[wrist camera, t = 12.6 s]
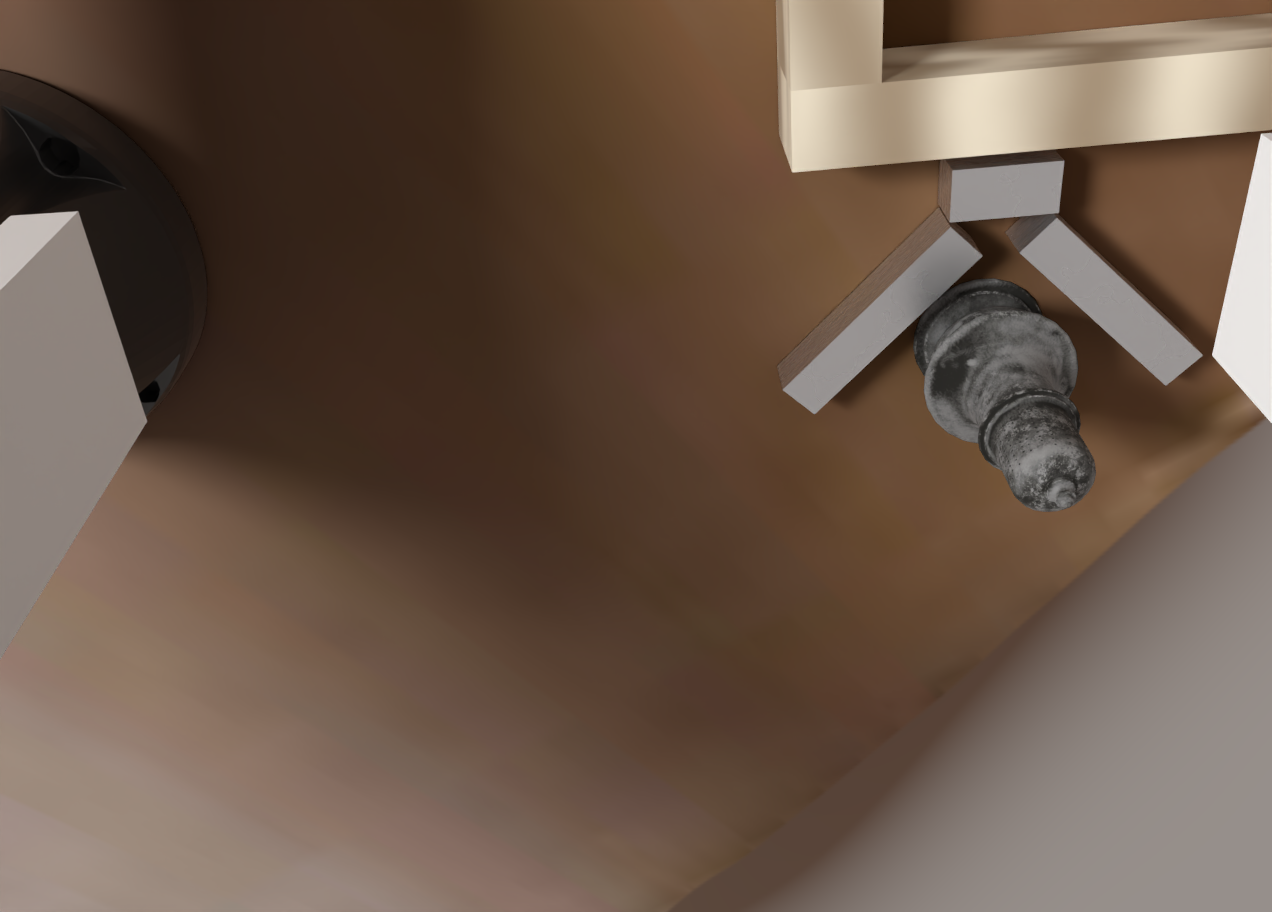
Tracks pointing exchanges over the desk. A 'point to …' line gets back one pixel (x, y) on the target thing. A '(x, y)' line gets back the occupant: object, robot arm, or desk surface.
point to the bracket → (1008, 87)
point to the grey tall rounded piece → (1007, 388)
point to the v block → (950, 252)
